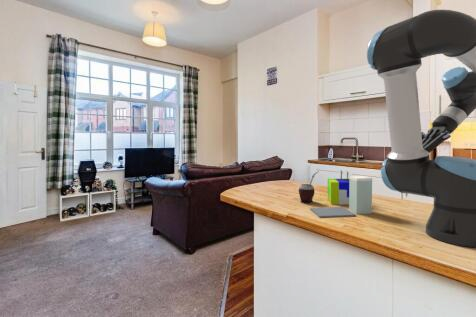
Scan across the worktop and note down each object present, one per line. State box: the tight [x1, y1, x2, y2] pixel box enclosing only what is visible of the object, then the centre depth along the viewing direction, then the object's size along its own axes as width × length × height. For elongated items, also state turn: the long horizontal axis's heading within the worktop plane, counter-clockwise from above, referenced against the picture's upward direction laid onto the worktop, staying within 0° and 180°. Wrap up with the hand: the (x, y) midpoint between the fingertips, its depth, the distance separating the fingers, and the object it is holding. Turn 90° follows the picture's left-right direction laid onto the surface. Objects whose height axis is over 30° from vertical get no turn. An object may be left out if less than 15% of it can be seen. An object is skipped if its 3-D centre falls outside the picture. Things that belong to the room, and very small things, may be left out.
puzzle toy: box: [327, 178, 349, 206], centre depth 117 cm, size 10×10×10 cm
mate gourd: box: [298, 170, 320, 204], centre depth 118 cm, size 8×8×15 cm
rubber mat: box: [309, 206, 357, 219], centre depth 101 cm, size 14×11×1 cm
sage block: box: [348, 175, 373, 215], centre depth 101 cm, size 6×6×14 cm
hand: (405, 164), depth 100 cm, fingers closed
